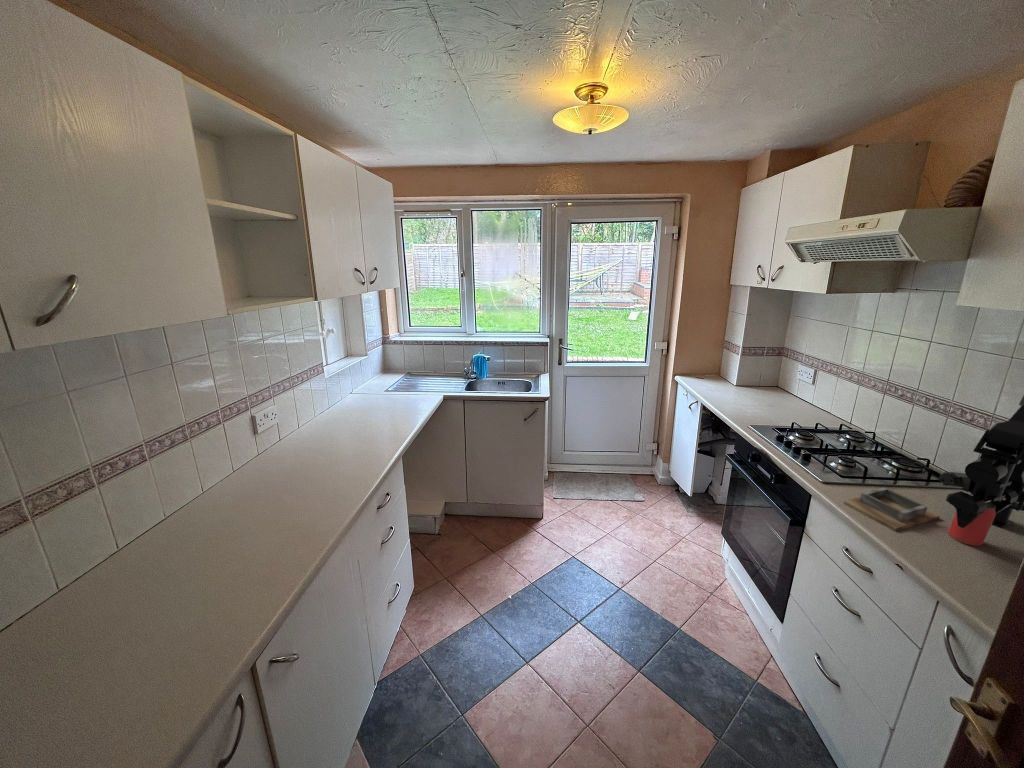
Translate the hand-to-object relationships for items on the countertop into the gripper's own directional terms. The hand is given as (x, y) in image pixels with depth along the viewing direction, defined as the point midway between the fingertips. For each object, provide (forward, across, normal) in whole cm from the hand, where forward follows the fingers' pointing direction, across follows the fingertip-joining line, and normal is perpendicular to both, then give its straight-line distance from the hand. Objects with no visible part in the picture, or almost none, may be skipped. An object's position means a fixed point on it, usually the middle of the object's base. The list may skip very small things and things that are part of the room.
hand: (970, 523), depth 109 cm
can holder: (+5, +5, -15) cm, 17 cm away
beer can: (+5, 0, 0) cm, 5 cm away
